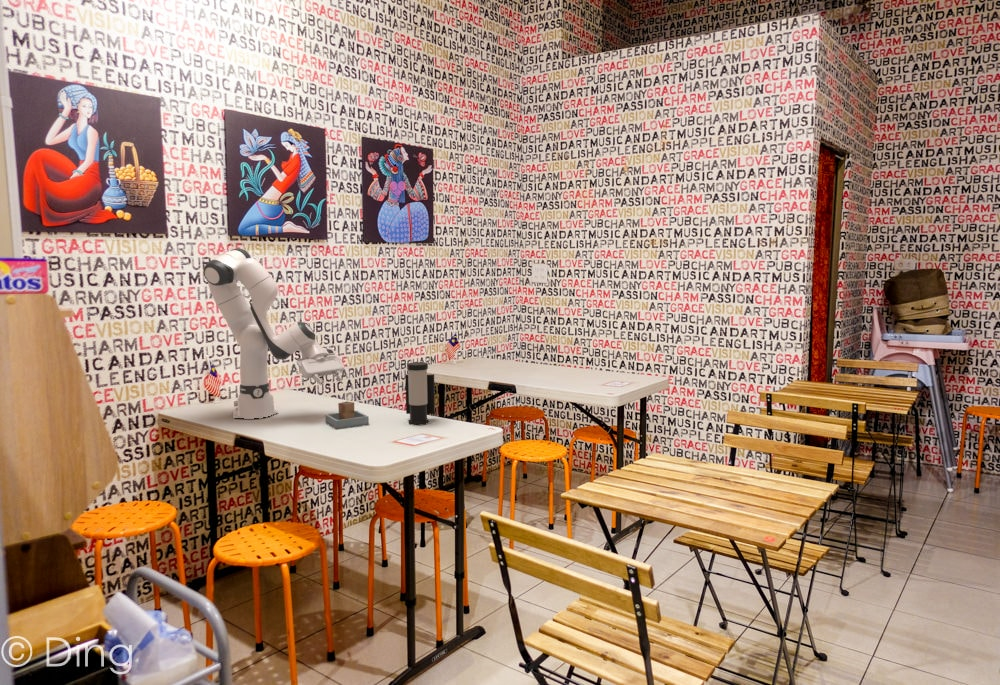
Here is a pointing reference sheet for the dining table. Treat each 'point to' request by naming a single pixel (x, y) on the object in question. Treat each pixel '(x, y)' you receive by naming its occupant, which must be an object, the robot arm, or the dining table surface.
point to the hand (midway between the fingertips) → (331, 382)
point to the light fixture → (419, 393)
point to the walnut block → (346, 410)
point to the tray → (346, 420)
